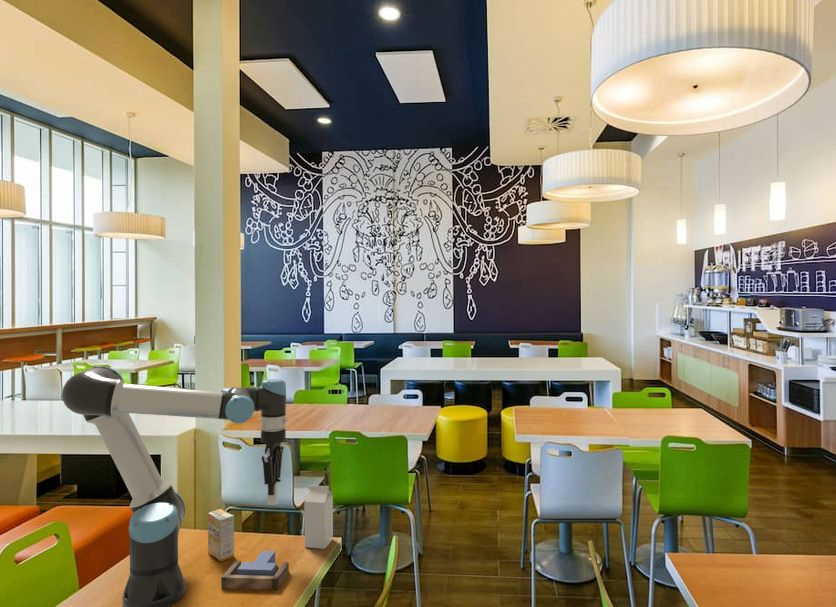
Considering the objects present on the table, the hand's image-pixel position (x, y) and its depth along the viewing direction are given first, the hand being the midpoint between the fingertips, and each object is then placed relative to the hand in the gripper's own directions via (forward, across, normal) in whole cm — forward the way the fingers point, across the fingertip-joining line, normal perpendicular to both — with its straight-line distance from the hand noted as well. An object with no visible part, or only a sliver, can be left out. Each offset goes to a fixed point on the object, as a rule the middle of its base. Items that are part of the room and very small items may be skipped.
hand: (272, 503), depth 161 cm
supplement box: (+17, -1, +16) cm, 23 cm away
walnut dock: (+16, -14, -1) cm, 21 cm away
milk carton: (+16, +9, -13) cm, 22 cm away
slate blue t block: (+16, -10, -1) cm, 19 cm away
